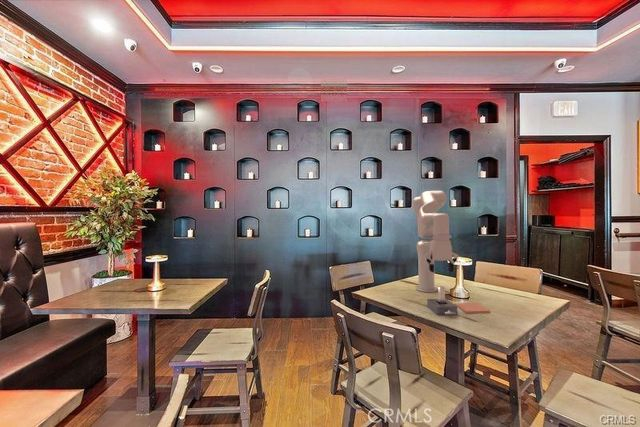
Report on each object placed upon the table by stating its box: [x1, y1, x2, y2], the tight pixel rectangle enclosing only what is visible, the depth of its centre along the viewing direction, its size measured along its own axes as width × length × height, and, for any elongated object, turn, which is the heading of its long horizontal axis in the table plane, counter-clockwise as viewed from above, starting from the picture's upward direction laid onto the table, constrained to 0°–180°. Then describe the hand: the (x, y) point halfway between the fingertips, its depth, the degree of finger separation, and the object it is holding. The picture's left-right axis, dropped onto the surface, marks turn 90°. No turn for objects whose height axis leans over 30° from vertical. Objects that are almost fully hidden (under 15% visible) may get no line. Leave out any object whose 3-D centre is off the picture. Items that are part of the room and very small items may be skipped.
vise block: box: [426, 298, 458, 316], centre depth 144 cm, size 16×10×4 cm, turn 1°
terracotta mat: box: [453, 302, 491, 314], centre depth 147 cm, size 12×12×1 cm
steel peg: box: [437, 285, 446, 304], centre depth 146 cm, size 3×3×12 cm
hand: (441, 271), depth 145 cm, fingers open, 9 cm apart
